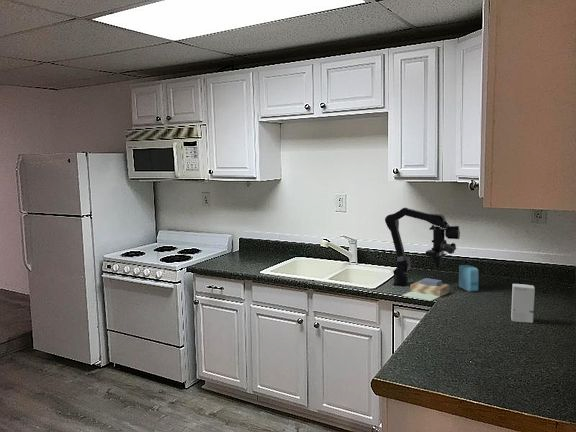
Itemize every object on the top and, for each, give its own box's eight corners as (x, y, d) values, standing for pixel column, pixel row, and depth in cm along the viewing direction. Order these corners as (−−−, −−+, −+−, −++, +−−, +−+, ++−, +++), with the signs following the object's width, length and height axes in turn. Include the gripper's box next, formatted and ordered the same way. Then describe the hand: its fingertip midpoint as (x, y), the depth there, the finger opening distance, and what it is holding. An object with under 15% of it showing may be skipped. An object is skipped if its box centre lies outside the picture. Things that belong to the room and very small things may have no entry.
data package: (478, 291, 251) (478, 268, 250) (470, 292, 250) (470, 269, 249) (466, 286, 263) (466, 264, 262) (458, 286, 262) (458, 264, 261)
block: (420, 284, 254) (420, 280, 254) (425, 281, 259) (425, 278, 258) (436, 286, 248) (436, 282, 248) (441, 284, 253) (441, 280, 252)
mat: (401, 295, 247) (401, 295, 247) (410, 292, 254) (410, 291, 254) (431, 300, 237) (431, 300, 237) (439, 296, 243) (439, 296, 243)
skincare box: (511, 321, 203) (512, 286, 201) (510, 317, 208) (511, 283, 207) (534, 323, 200) (535, 287, 198) (532, 319, 205) (533, 284, 204)
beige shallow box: (410, 292, 254) (410, 284, 254) (420, 287, 262) (420, 280, 262) (439, 296, 243) (439, 289, 243) (449, 292, 251) (449, 284, 251)
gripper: (445, 241, 245) (445, 272, 247) (461, 237, 259) (460, 266, 261) (425, 240, 253) (425, 269, 254) (441, 235, 267) (441, 263, 268)
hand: (438, 267), depth 259 cm, fingers closed
